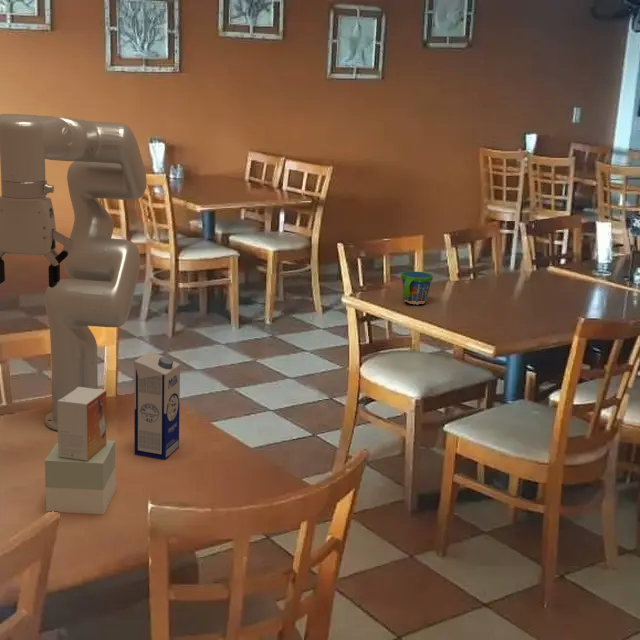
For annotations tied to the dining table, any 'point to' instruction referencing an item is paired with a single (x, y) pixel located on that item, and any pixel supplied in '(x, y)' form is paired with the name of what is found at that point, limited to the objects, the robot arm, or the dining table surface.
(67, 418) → the small box
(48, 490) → the tower bottom
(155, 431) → the milk carton
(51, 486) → the tower top
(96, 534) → the dining table surface
